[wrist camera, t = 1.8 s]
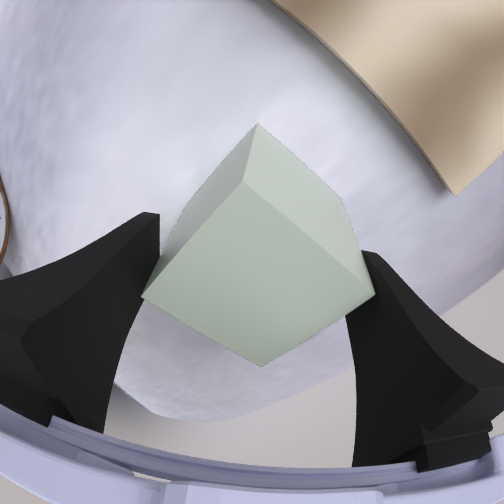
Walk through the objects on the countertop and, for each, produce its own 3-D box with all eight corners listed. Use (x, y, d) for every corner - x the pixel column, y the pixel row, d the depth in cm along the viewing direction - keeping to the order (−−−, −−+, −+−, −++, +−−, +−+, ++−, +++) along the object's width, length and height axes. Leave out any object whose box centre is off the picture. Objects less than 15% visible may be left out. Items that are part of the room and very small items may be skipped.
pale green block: (341, 197, 14) (375, 294, 9) (267, 262, 17) (261, 366, 11) (257, 122, 13) (242, 181, 7) (187, 202, 15) (140, 296, 10)
